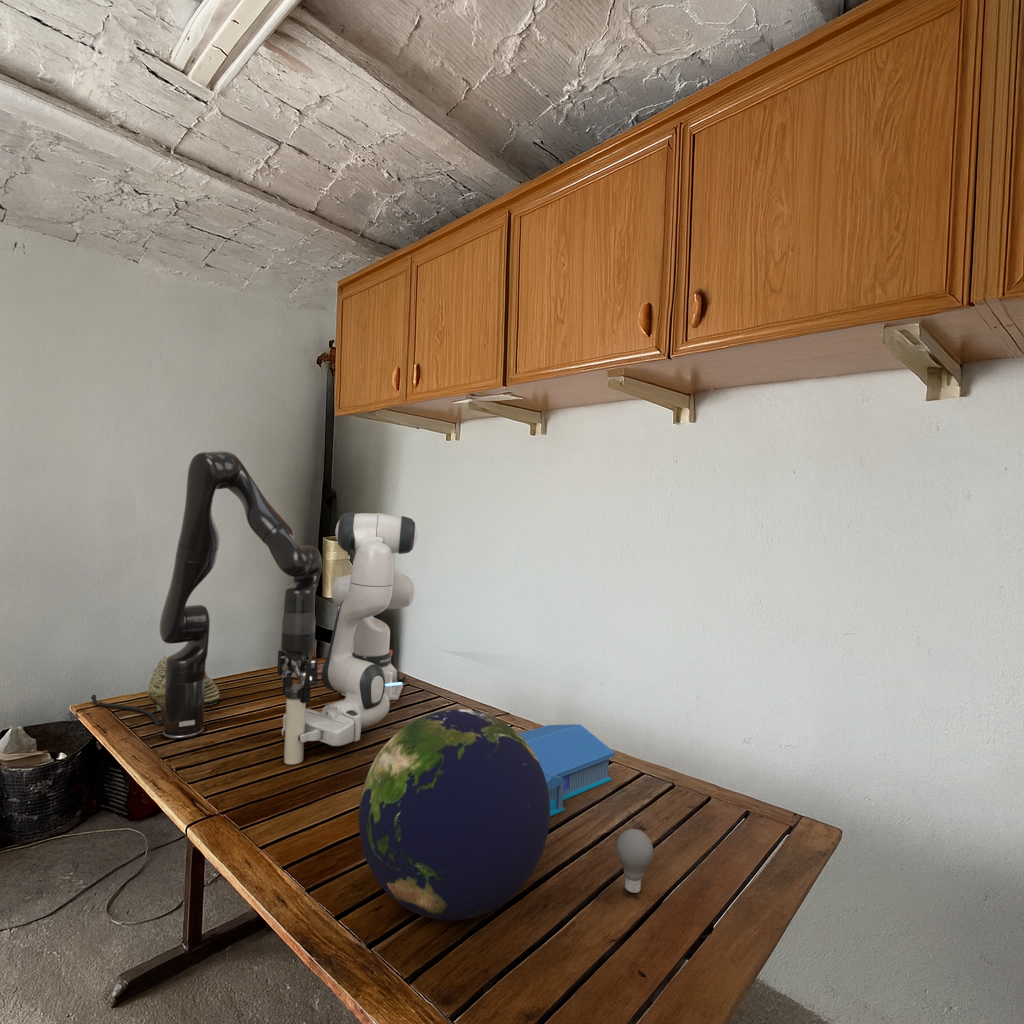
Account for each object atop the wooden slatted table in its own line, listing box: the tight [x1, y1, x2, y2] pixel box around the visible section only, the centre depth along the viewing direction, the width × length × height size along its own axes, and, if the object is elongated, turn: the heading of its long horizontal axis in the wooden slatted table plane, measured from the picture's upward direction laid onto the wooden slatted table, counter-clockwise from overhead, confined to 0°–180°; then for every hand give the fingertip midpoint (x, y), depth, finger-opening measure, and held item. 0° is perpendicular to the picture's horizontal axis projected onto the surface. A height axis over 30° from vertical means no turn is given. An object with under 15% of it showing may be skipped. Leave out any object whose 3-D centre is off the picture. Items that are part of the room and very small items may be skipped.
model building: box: [518, 723, 615, 817], centre depth 141 cm, size 39×24×10 cm, turn 132°
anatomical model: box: [292, 663, 324, 681], centre depth 221 cm, size 13×4×12 cm
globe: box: [358, 708, 551, 922], centre depth 100 cm, size 30×30×30 cm
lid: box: [284, 683, 301, 699], centre depth 151 cm, size 5×5×2 cm
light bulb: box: [615, 828, 654, 894], centre depth 106 cm, size 6×6×10 cm
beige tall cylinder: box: [283, 697, 307, 765], centre depth 151 cm, size 4×4×17 cm
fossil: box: [147, 654, 221, 712], centre depth 185 cm, size 9×18×15 cm, turn 132°
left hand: (296, 698), depth 151 cm, fingers open, 7 cm apart
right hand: (291, 735), depth 150 cm, fingers closed on beige tall cylinder, 4 cm apart
